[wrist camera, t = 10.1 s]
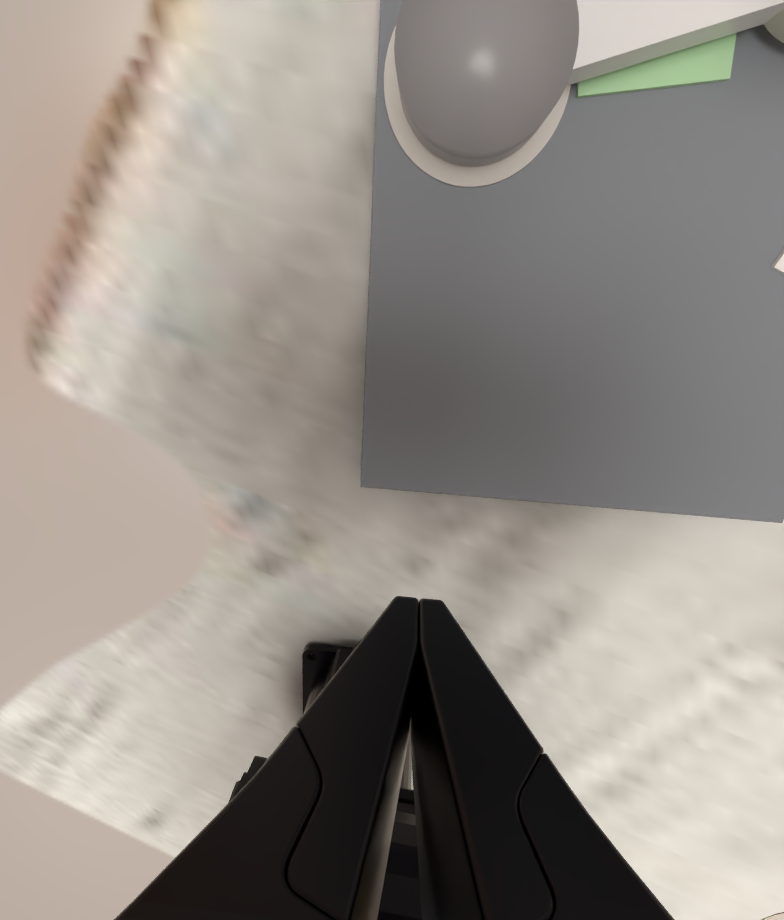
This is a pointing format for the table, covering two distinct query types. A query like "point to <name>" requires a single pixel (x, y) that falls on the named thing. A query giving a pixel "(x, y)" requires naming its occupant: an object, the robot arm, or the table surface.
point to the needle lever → (535, 59)
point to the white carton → (776, 917)
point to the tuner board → (588, 295)
